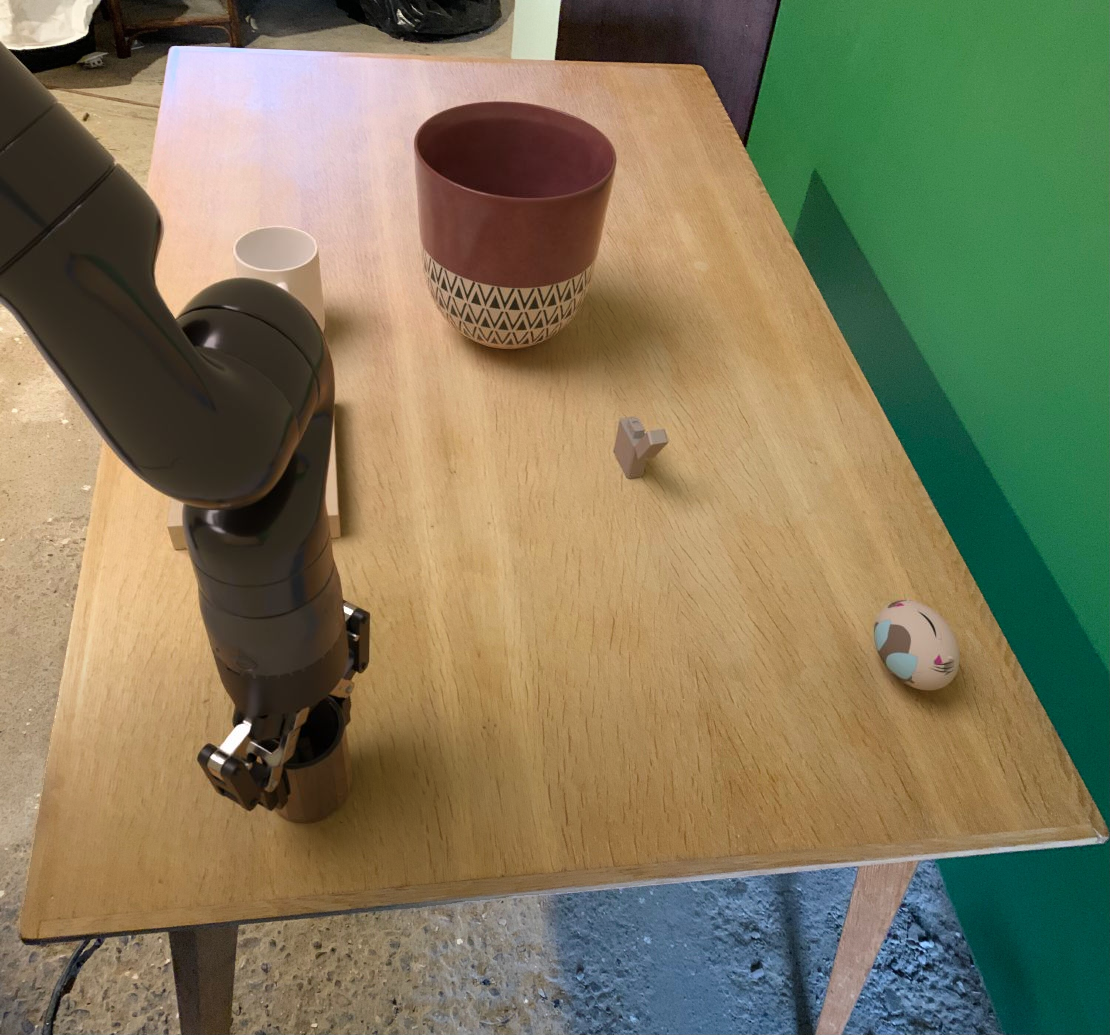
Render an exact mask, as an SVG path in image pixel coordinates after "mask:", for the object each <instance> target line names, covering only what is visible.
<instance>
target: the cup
mask: <svg viewBox="0 0 1110 1035" xmlns="http://www.w3.org/2000/svg"><path fill="white" fill-rule="evenodd" d="M232 254H233V260H234V264H235V265H234V266H235V272H236V278H237V277H247V278H256V279H260V280H264V281H267V282H270V283H273V284H275V285H277V286H279V287H281V288H283V289H285V290H286V291H288V292H289V293H291V294H292V295H293V296H295V297H296V298H297V299H298V300H299V301H301V303H302V304H303V305H304V306H305V307H306V308H307V309H308V310H309V311H310V313H311V314H312V315H313V317H314V318H315V319H316V321H317V322H318V324H319V326H320V327H321V329H322V331H323V333H325V332H324V331H325V328H326V314H325V304H324V303H325V302H324V292H323V283H322V282H323V281H322V274H321V262H320V252H319V244H318V242H317V241H316V239H315V238H314V237H313V236H312V235H311V234H309V233H308V232H306V231H304V230H302V229H299V228H296V227H292V226H287V225H269V226H268V225H267V226H262V227H258V228H254V229H251V230H249V231H247V232H245V233H243V234H241V235H240V236H239V237H238V238H237V239H236V240H235V242H234V244H233V247H232Z"/></svg>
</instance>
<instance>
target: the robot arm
mask: <svg viewBox="0 0 1110 1035" xmlns="http://www.w3.org/2000/svg"><path fill="white" fill-rule="evenodd" d="M164 236H165V221H164V217H163V215H162V213H161V211H160V209H159V207H158V206H157V204H156V202H155V201H154V200H153V198H152V197H151V196H150V195H149V194H148V192H147V190H145V188H144V187H142V185H141V184H140V183H139V182H138V181H137V180H136V179H135V178H134V176H133V175H132V174H131V173H130V172H129V171H128V170H127V169H126V168H125V167H124V166H123V165H122V164H120V163H118V162H117V163H116V158H115V157H114V156H113V155H112V153H110V152H109V151H108V150H107V149H106V148H105V147H104V145H103V144H102V143H101V142H100V141H99V140H98V139H97V138H95V136H94V135H93V134H92V133H91V132H90V131H89V130H88V129H87V128H86V127H85V126H84V125H83V124H82V123H81V122H80V121H79V120H78V119H77V118H76V117H75V116H74V115H73V113H71V112H70V110H68V109H67V107H66V106H65V105H64V104H62V103H61V102H59V99H58V98H56V96H55V95H53V93H52V92H51V91H50V90H49V89H48V88H47V87H46V86H45V85H44V84H43V83H42V82H41V81H40V80H39V79H38V78H37V77H36V76H35V75H34V74H33V73H32V72H31V71H30V70H29V69H28V68H27V67H26V66H25V65H24V64H23V63H22V62H21V61H20V60H19V59H18V58H17V57H16V55H14V53H13V52H11V50H10V49H8V47H7V46H6V45H5V44H4V43H3V42H2V41H1V40H0V305H2V306H3V307H4V308H5V309H6V310H7V311H8V312H9V313H10V314H11V315H12V316H13V317H14V319H15V320H16V321H17V323H18V324H19V325H20V327H21V328H22V329H23V331H24V332H25V333H26V335H27V337H28V338H29V339H30V341H31V342H32V343H33V345H34V346H35V348H36V350H37V351H38V352H39V354H40V355H41V356H42V358H43V359H44V361H45V362H46V363H47V365H48V366H49V368H50V369H51V371H53V373H54V374H55V376H56V377H57V378H58V379H59V380H60V382H61V383H62V384H63V386H64V387H65V389H66V390H67V391H68V393H69V394H70V396H71V397H72V398H73V400H74V401H75V402H76V404H77V405H78V407H79V408H80V410H81V411H82V412H83V414H84V415H85V416H86V418H87V419H88V421H89V422H90V423H91V425H92V426H93V427H94V428H95V430H96V431H97V433H98V434H99V436H101V437H100V438H102V440H103V441H104V442H105V443H106V444H107V446H108V447H109V448H110V449H111V451H112V452H113V453H114V454H115V455H116V456H117V458H118V460H120V461H121V462H122V463H123V464H124V465H125V466H126V467H127V468H128V470H130V471H131V472H132V473H133V474H134V475H136V476H137V477H138V478H139V479H140V480H142V481H143V482H144V483H146V484H147V485H149V486H150V487H151V488H153V489H154V490H156V491H157V492H159V493H160V494H163V495H164V496H166V497H167V498H169V499H170V498H172V499H175V500H177V501H179V502H181V503H184V504H183V509H182V524H183V533H184V538H185V543H186V546H187V549H186V550H187V554H188V556H189V560H190V563H191V566H192V570H193V573H194V576H195V580H196V583H197V591H198V592H197V595H198V605H199V610H200V611H199V612H200V614H201V619H202V622H203V625H204V629H205V632H206V635H207V638H208V642H209V645H210V649H211V652H212V655H213V660H214V662H215V666H216V669H217V673H218V676H219V679H220V682H221V684H222V686H223V688H224V689H225V690H224V691H226V693H227V695H228V697H229V698H230V700H231V701H232V703H233V704H234V710H233V715H232V726H233V730H232V731H231V732H230V734H229V735H228V736H226V738H225V739H224V741H223V742H222V743H221V744H218V745H217V746H216V745H214V744H213V743H210V742H208V743H206V744H205V745H204V746H203V747H202V748H201V749H200V751H199V752H198V755H197V758H196V761H197V763H198V765H199V767H200V768H201V769H202V771H203V773H204V774H205V776H206V778H207V779H208V780H209V782H210V784H211V786H212V787H213V789H214V790H215V792H216V793H217V794H218V795H220V796H221V797H226V798H227V799H228V800H230V801H231V802H234V803H235V804H237V805H238V806H240V807H241V808H242V809H244V810H246V811H247V812H252V811H254V810H255V808H256V807H257V806H260V807H263V808H264V809H266V810H267V811H269V812H273V811H274V810H273V809H274V808H277V809H279V810H282V809H283V807H284V806H285V805H286V803H287V802H288V796H287V792H286V788H285V784H284V780H283V777H281V775H282V771H283V767H284V763H285V762H287V761H288V760H289V759H291V758H292V757H293V756H294V753H295V749H296V745H297V741H298V737H299V733H300V729H301V726H302V725H303V724H304V723H306V721H307V717H308V714H309V713H310V712H311V711H312V710H313V709H314V708H315V707H316V706H317V705H318V703H319V702H320V701H321V700H322V699H324V698H325V697H326V696H327V695H329V696H331V697H333V698H334V699H335V701H336V702H337V703H338V705H339V706H340V707H341V709H342V710H343V714H344V719H345V724H346V727H347V726H348V725H349V724H350V723H351V721H352V719H351V709H352V699H351V694H352V693H353V692H354V689H355V682H354V681H352V680H353V678H354V677H355V675H356V673H357V674H359V675H361V674H363V673H364V672H365V671H366V670H367V669H368V666H369V664H370V649H371V648H370V646H371V645H370V642H371V641H370V640H371V613H370V612H369V611H368V610H365V609H363V608H361V607H359V606H358V605H356V604H353V603H351V602H350V601H348V600H346V599H344V594H343V587H342V581H341V577H340V576H341V575H340V573H339V570H338V567H337V564H336V561H335V557H334V550H333V541H332V538H331V532H330V523H329V517H328V512H327V507H326V485H327V477H328V469H329V462H330V453H331V443H332V431H333V420H334V421H335V416H334V410H335V406H336V405H335V404H336V403H335V402H336V400H335V399H336V379H335V378H336V377H335V367H334V361H333V356H332V353H331V349H330V346H329V344H328V341H327V338H326V336H325V332H323V331H322V329H321V327H320V326H319V324H318V322H317V321H316V319H315V318H314V317H313V315H312V314H311V313H310V311H309V310H308V309H307V308H306V307H305V306H304V305H303V304H302V303H301V301H299V300H298V299H297V298H296V297H295V296H293V295H292V294H291V293H289V292H288V291H286V290H285V289H283V288H281V287H279V286H277V285H275V284H273V283H270V282H267V281H264V280H260V279H256V278H247V277H237V276H236V277H230V278H226V279H223V280H220V281H217V282H214V283H211V284H210V285H208V286H206V287H204V288H203V289H201V290H200V291H199V292H198V293H197V294H195V295H194V296H193V297H192V298H191V299H189V301H188V302H187V303H186V304H185V305H184V307H183V308H182V309H181V310H180V312H179V313H178V315H176V317H175V316H174V314H173V313H172V311H171V309H170V307H169V306H168V304H167V302H166V301H165V299H164V298H163V296H162V294H161V291H159V287H158V286H157V281H156V280H157V279H156V269H157V268H156V267H157V262H158V258H159V254H160V251H161V248H162V244H163V239H164ZM280 738H281V740H280V742H278V741H276V740H275V739H280ZM258 756H259V757H260V758H262V759H264V760H265V761H266V762H267V766H265V765H263V764H261V763H260V762H258V761H257V757H258Z"/></svg>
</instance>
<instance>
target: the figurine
mask: <svg viewBox="0 0 1110 1035" xmlns="http://www.w3.org/2000/svg"><path fill="white" fill-rule="evenodd" d="M875 618H876V619H875V622H874V627H873V639H874V645H875V649H876V651H877V653H878V656H879V659H881V661H882V663H883V664H884V666H885V667H886V669H887V670H888V672H889V673H890V675H893V676H894V677H895V678H896V679H898V680H899V681H900V682H902V683H903V684H905V685H907V686H909V687H911V688H914V689H917V690H921V691H935V690H936V691H937V690H940V689H942V688H945V687H946V686H947V685H950V683H951V682H952V681H953V680H954V679H955V677H956V675H957V673H958V671H959V669H960V661H961V653H960V647H959V644H958V641H957V638H956V635H955V633H954V632H953V629H952V628H951V627H950V624H948V623H947V621H946V620H945V619H944V618H943V617H942V616H941V615H940V614H939V612H937V611H936V610H935V609H933V608H931V607H929V606H928V605H926V604H925V603H921V602H919V601H916V600H910V597H909V596H907V597H906V599H901V600H900V599H899V600H895V601H892V602H890V603H888V604H886V606H884V607H883V608H882V609H881V610H880V612H879V613H878V614H877V616H876V617H875Z"/></svg>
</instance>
